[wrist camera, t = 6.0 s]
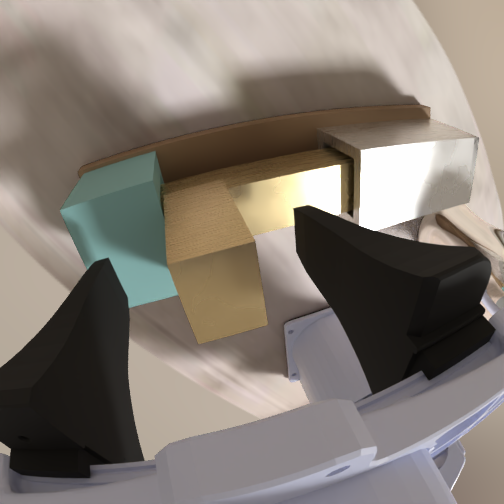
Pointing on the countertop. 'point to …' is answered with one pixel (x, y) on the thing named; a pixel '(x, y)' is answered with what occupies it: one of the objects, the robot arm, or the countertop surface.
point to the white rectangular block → (404, 168)
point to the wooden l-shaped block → (241, 231)
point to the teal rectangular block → (123, 225)
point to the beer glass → (474, 235)
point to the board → (254, 140)
